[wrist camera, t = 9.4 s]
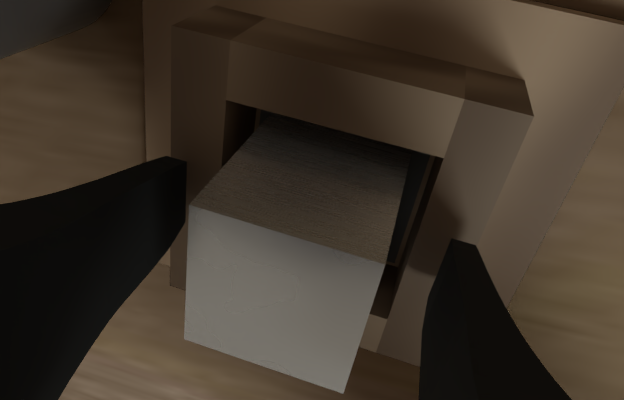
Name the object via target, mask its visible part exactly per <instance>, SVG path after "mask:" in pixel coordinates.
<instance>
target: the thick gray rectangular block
mask: <svg viewBox="0 0 624 400" xmlns="http://www.w3.org/2000/svg"><path fill="white" fill-rule="evenodd" d="M111 1H112V0H0V59H2V58H5V57H7V56H10V55H13V54H15V53H18V52H21V51H23V50H26V49H29V48H31V47H34V46H37V45H39V44H42V43H44V42H47V41H50V40H52V39H55V38H58V37H60V36H63V35H66V34H68V33H71V32H73V31H76V30H79V29H81V28H84V27H86V26H88V25H90V24H91V23H93V22H94V21H96V20H97V19H98V18H99V17H100V16H101V15H102V14H103V13H104V12H105V10H106V9H107V8H108V6H109V5H110V3H111Z"/></svg>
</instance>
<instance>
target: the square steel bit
mask: <svg viewBox="0 0 624 400" xmlns="http://www.w3.org/2000/svg"><path fill="white" fill-rule="evenodd" d="M411 154H412V150H411V149H407V148H403V147H400V146H396V145H392V144H388V143H385V142H381V141H377V140H374V139H370V138H366V137H362V136H359V135H355V134H351V133H347V132H344V131H340V130H336V129H332V128H329V127H325V126H321V125H318V124H314V123H310V122H306V121H303V120H299V119H295V118H291V117H288V116H284V115H280V114H277V113H273V112H272V113H271V114H270V115H269V116H268V117H267V118H266V120H265V121H264V122H263V123H262V124H261V125H260V126H259V127H258V128H257V130H256V131H255V132H254V133H253V134H252V135H251V136H250V137H249V138H248V140H247V141H246V142H245V143H244V144H243V145H242V146H241V147H240V148H239V150H238V151H237V152H236V153H235V154H234V155H233V156H232V157H231V158H230V160H229V161H228V162H227V163H226V164H225V165H224V166H223V167H222V168H221V170H220V171H219V172H218V173H217V174H216V175H215V176H214V177H213V178H212V180H211V181H210V182H209V183H208V184H207V185H206V186H205V187H204V188H203V190H202V191H201V192H200V193H199V194H198V195H197V196H196V197H195V198H194V200H193V201H192V202H191V203H190V204H189V216H188V244H187V273H186V301H185V329H184V339H185V340H188V341H191V342H194V343H197V344H200V345H202V346H205V347H208V348H211V349H214V350H217V351H220V352H223V353H226V354H229V355H232V356H234V357H237V358H240V359H243V360H246V361H249V362H252V363H255V364H258V365H261V366H264V367H266V368H269V369H272V370H275V371H278V372H281V373H284V374H287V375H290V376H293V377H296V378H298V379H301V380H304V381H307V382H310V383H313V384H316V385H319V386H322V387H325V388H328V389H330V390H333V391H336V392H339V393H342V394H343V393H344V390H345V387H346V384H347V381H348V378H349V375H350V372H351V369H352V366H353V362H354V359H355V356H356V353H357V350H358V347H359V344H360V341H361V338H362V335H363V332H364V329H365V326H366V323H367V319H368V316H369V313H370V310H371V307H372V304H373V301H374V298H375V295H376V292H377V289H378V286H379V283H380V280H381V277H382V273H383V270H384V267H385V264H386V260H387V256H388V251H389V247H390V243H391V239H392V234H393V230H394V226H395V222H396V217H397V213H398V209H399V205H400V201H401V196H402V192H403V188H404V184H405V179H406V175H407V171H408V167H409V162H410V158H411Z"/></svg>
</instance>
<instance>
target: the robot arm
mask: <svg viewBox="0 0 624 400" xmlns="http://www.w3.org/2000/svg"><path fill="white" fill-rule="evenodd" d="M186 181H187V162H186V161H183V160H179V159H176V158H172V157H169V156H164V157H160V158H157V159H154V160H151V161H148V162H145V163H142V164H140V165H137V166H134V167H131V168H129V169H126V170H123V171H120V172H117V173H115V174H112V175H109V176H106V177H104V178H101V179H98V180H95V181H91V182H88V183H85V184H82V185H79V186H76V187H72V188H69V189H66V190H63V191H59V192H56V193H52V194H48V195H44V196H40V197H35V198H31V199H27V200H22V201H17V202H12V203H6V204H0V400H58V399H59V397H60V395H61V394H62V392H63V390H64V389H65V387H66V385H67V384H68V382H69V380H70V379H71V377H72V376H73V374H74V373H75V371H76V369H77V368H78V366H79V365H80V363H81V362H82V360H83V359H84V357H85V355H86V354H87V352H88V351H89V349H90V348H91V346H92V345H93V343H94V342H95V340H96V339H97V338H98V336H99V335H100V333H101V332H102V330H103V329H104V327H105V326H106V324H107V323H108V321H109V320H110V319H111V317H112V316H113V315H114V314H115V312H116V311H117V310H118V309H119V307H120V306H121V305H122V304H123V303H124V301H125V300H126V299H127V298H128V297H129V296H130V294H131V293H132V292H133V291H134V290H135V289H136V288H137V286H138V285H139V284H140V283H141V282H142V281H143V279H144V278H145V277H146V276H147V275H148V274H149V272H150V271H151V270H152V269H153V268H154V266H155V265H156V264H157V263H158V262H159V261H160V259H161V258H162V257H163V256H164V255H165V253H166V252H167V251H168V249H169V248H170V246H171V245H172V243H173V242H174V240H175V239H176V237H177V235H178V234H179V232H180V231H181V229H182V227H183V226H184V224H185V220H186ZM419 400H571V398H570V397H569V396H568V395H567V394H566V393H565V391H564V390H563V389H562V388H561V387H560V386H559V384H558V383H557V382H556V381H555V380H554V378H553V377H552V376H551V375H550V373H549V372H548V371H547V370H546V368H545V367H544V366H543V364H542V363H541V361H540V360H539V359H538V357H537V356H536V355H535V353H534V352H533V351H532V349H531V348H530V346H529V345H528V343H527V342H526V340H525V339H524V337H523V336H522V334H521V333H520V331H519V329H518V328H517V326H516V325H515V323H514V321H513V320H512V318H511V316H510V314H509V312H508V311H507V309H506V307H505V305H504V303H503V301H502V299H501V297H500V295H499V293H498V292H497V290H496V287H495V285H494V283H493V281H492V279H491V277H490V275H489V273H488V271H487V268H486V266H485V264H484V262H483V259H482V257H481V255H480V252H479V250H478V248H477V246H476V245H474V244H470V243H467V242H463V241H460V240H456V239H453V238H451V241H450V243H449V246H448V248H447V251H446V253H445V256H444V258H443V261H442V263H441V266H440V268H439V271H438V273H437V276H436V278H435V281H434V283H433V286H432V288H431V291H430V293H429V296H428V300H427V305H426V310H425V316H424V322H423V328H422V339H421V359H420V382H419Z"/></svg>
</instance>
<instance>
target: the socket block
mask: <svg viewBox="0 0 624 400" xmlns="http://www.w3.org/2000/svg"><path fill="white" fill-rule="evenodd" d="M142 11H143V50H144V88H145V127H146V162H148V161H151V160H154V159H157V158H160V157H164V156H169V157H172V158H176V159H179V160H183V161H186V162H187V181H186V220H185V224H184V226H183V227H182V229H181V231H180V232H179V234H178V235H177V237H176V239H175V240H174V242H173V243H172V245H171V246H170V248H169V249H168V251H167V252H166V253H165V255H164V256H163V257H162V258H161V259H160V261H159V262H158V263H160V264H164V265H167V266H170V286H173V287H176V288H179V289H182V290H185V291H186V273H187V244H188V216H189V204H190V203H191V202H192V201H193V200H194V198H195V197H196V196H197V195H198V194H199V193H200V192H201V191H202V190H203V188H204V187H205V186H206V185H207V184H208V183H209V182H210V181H211V180H212V178H213V177H214V176H215V175H216V174H217V173H218V172H219V171H220V170H221V168H222V167H223V166H224V165H225V164H226V163H227V162H228V161H229V160H230V158H231V157H232V156H233V155H234V154H235V153H236V152H237V151H238V150H239V148H240V147H241V146H242V145H243V144H244V143H245V142H246V141H247V140H248V138H249V137H250V136H251V135H252V134H253V133H254V132H255V131H256V130H257V128H258V127H259V126H260V125H261V124H262V123H263V122H264V121H265V120H266V118H267V117H268V116H269V115H270V114H271V113H272V112H273V113H277V114H280V115H284V116H288V117H291V118H295V119H299V120H303V121H306V122H310V123H314V124H318V125H321V126H325V127H329V128H332V129H336V130H340V131H344V132H347V133H351V134H355V135H359V136H362V137H366V138H370V139H374V140H377V141H381V142H385V143H388V144H392V145H396V146H400V147H403V148H407V149H411V150H412V154H411V158H410V162H409V167H408V171H407V175H406V179H405V184H404V188H403V192H402V196H401V201H400V205H399V209H398V213H397V217H396V222H395V226H394V230H393V234H392V239H391V243H390V247H389V251H388V256H387V260H386V264H385V267H384V270H383V273H382V277H381V280H380V283H379V286H378V289H377V292H376V295H375V298H374V301H373V304H372V307H371V310H370V313H369V316H368V319H367V323H366V326H365V329H364V332H363V335H362V338H361V341H360V344H359V347H360V348H363V349H366V350H369V351H372V352H375V353H378V354H382V355H385V356H388V357H391V358H394V359H397V360H400V361H403V362H406V363H409V364H412V365H415V366H418V367H420V359H421V339H422V328H423V322H424V316H425V310H426V305H427V300H428V296H429V293H430V291H431V288H432V286H433V283H434V281H435V278H436V276H437V273H438V271H439V268H440V266H441V263H442V261H443V258H444V256H445V253H446V251H447V248H448V246H449V243H450V241H451V238H453V239H456V240H460V241H463V242H467V243H470V244H474V245H476V246H477V248H478V250H479V252H480V255H481V257H482V259H483V262H484V264H485V266H486V268H487V271H488V273H489V275H490V277H491V279H492V281H493V283H494V285H495V287H496V290H497V292H498V293H499V295H500V297H501V299H502V301H503V303H504V305H505V307H506V308H507V307H508V305H509V303H510V301H511V299H512V297H513V295H514V293H515V291H516V290H517V288H518V286H519V284H520V282H521V280H522V278H523V276H524V274H525V273H526V271H527V269H528V267H529V265H530V263H531V261H532V259H533V257H534V256H535V254H536V252H537V250H538V248H539V246H540V244H541V242H542V240H543V239H544V237H545V235H546V233H547V231H548V229H549V227H550V225H551V224H552V222H553V220H554V218H555V216H556V214H557V212H558V210H559V208H560V207H561V205H562V203H563V201H564V199H565V197H566V195H567V193H568V191H569V190H570V188H571V186H572V184H573V182H574V180H575V178H576V176H577V174H578V173H579V171H580V169H581V167H582V165H583V163H584V161H585V159H586V157H587V156H588V154H589V152H590V150H591V148H592V146H593V144H594V142H595V140H596V139H597V137H598V135H599V133H600V131H601V129H602V127H603V125H604V123H605V122H606V120H607V118H608V116H609V114H610V112H611V110H612V108H613V106H614V105H615V103H616V101H617V99H618V97H619V95H620V93H621V91H622V89H623V88H624V21H622V20H617V19H613V18H608V17H603V16H599V15H594V14H590V13H585V12H581V11H576V10H572V9H567V8H563V7H558V6H554V5H549V4H544V3H540V2H535V1H531V0H142Z"/></svg>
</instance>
